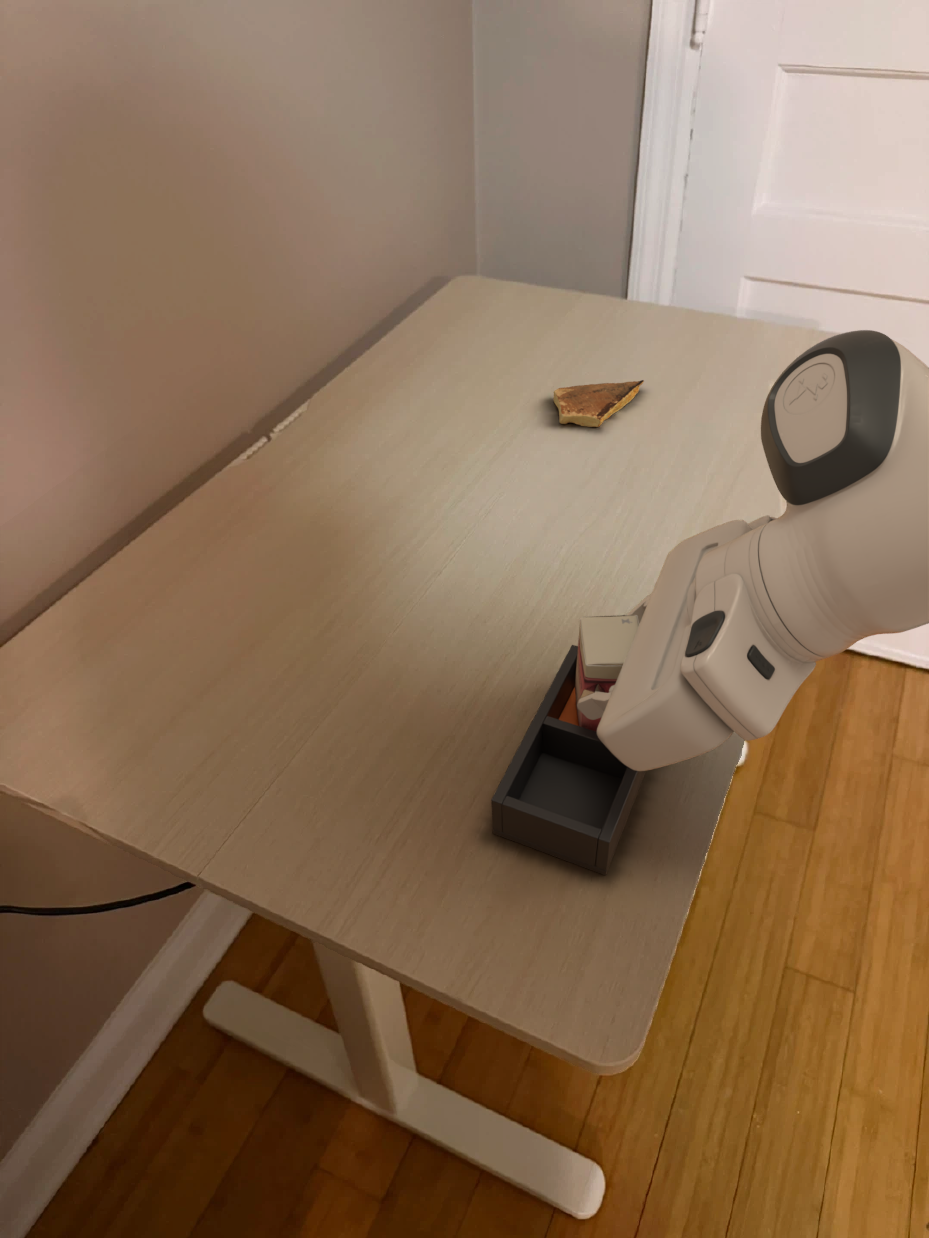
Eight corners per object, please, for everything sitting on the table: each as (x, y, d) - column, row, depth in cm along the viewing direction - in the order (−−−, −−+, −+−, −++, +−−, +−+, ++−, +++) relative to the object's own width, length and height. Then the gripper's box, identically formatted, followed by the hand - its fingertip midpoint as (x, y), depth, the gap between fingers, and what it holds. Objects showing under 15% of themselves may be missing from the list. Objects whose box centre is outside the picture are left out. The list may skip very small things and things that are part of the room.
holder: (670, 709, 71) (676, 674, 68) (605, 875, 60) (609, 842, 57) (570, 678, 73) (571, 644, 70) (492, 833, 63) (490, 799, 60)
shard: (642, 391, 106) (644, 377, 105) (657, 425, 100) (659, 411, 99) (552, 398, 106) (552, 384, 104) (562, 433, 100) (562, 419, 99)
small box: (573, 686, 70) (578, 614, 64) (628, 685, 70) (638, 612, 64) (579, 737, 66) (584, 665, 61) (637, 736, 66) (647, 663, 61)
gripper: (761, 475, 61) (613, 554, 71) (694, 683, 48) (523, 744, 58) (814, 540, 63) (662, 608, 73) (763, 758, 50) (586, 805, 59)
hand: (600, 670), depth 65 cm, fingers closed on small box, 6 cm apart
